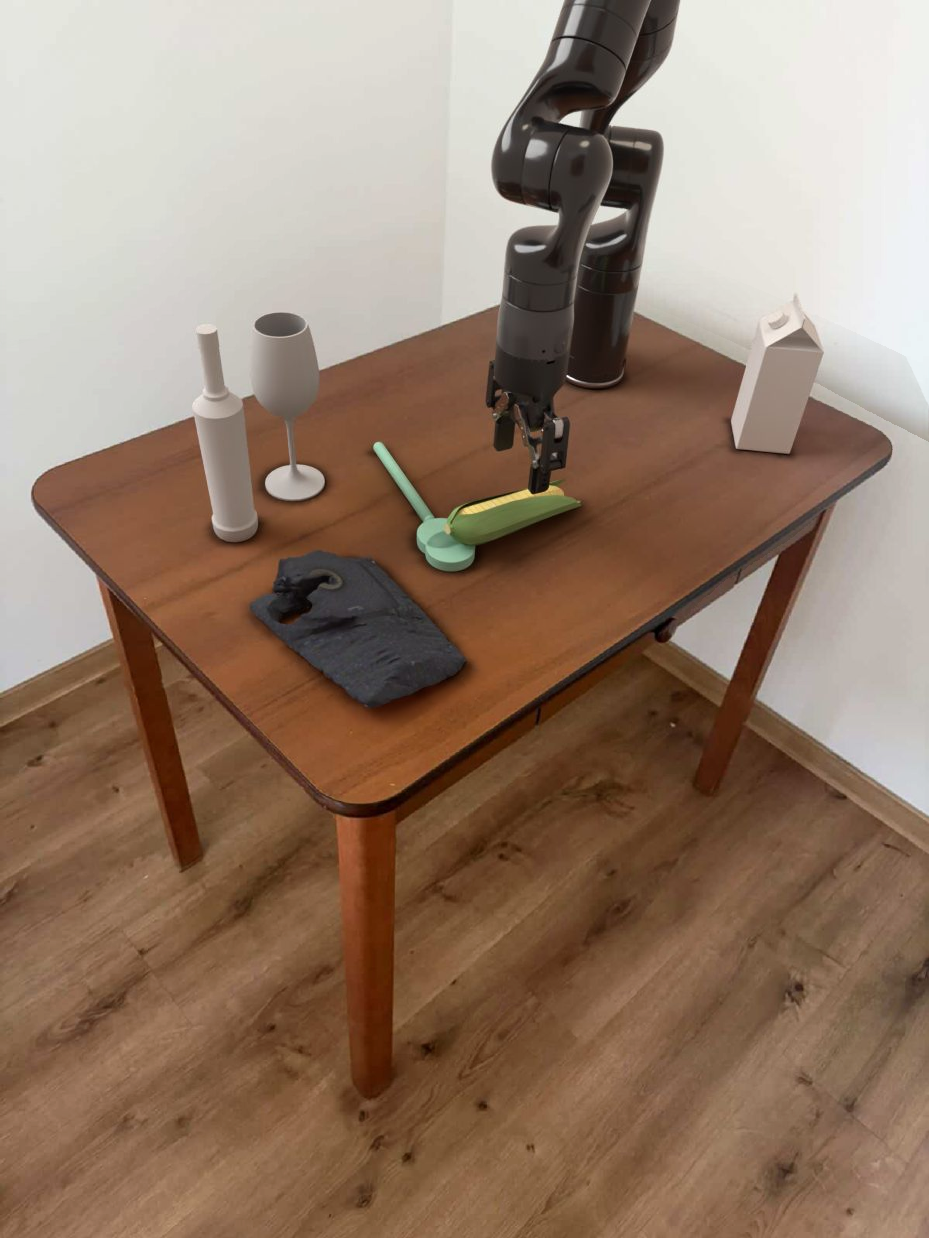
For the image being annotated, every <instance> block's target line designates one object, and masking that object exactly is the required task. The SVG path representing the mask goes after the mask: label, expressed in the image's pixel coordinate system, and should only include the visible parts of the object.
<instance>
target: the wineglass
mask: <svg viewBox="0 0 929 1238" xmlns="http://www.w3.org/2000/svg"><path fill="white" fill-rule="evenodd" d="M249 348H250V350H249V377H250V383H251V387H252V388H251V389H252V391H253V392H252V393H253V395H254V397H255V398H256V400H257V402H258V403H259V405H260V406H261V407H263V408H264V409H265V410H266V411H267V412H268V413H270V414H272V415H274V416H276V417H278V418H279V419H282V420H283V421H284V423H285V427H286V435H287V443H288V453H289V454H288V455H289V464H288V465H283V466H280V467H278V468H275V469H274V470H272V471H271V472H270V473H269V474H268V475H267V476H266V478H265V481H264V482H265V483H264V486H265V489H266V491H267V492H268V494H269V495H270V496H272V497H273V498H276V499H278V500H282V501H287V502H301V501H305V500H306V501H307V500H309V499H311V498H315V496H317V495H319V494H320V493H321V492H322V491H323V489H324V487H325V482H326V481H325V477H324V475H323V473H322V472H321V471H320V470H319V469H317V468H315V467H312V466H310V465H305V464H298V463H297V456H296V445H295V433H294V421H295V420H296V418H299V417H300V416H301V415H303V414H304V413H306V412H307V411H308V410H309V409H310V408H311V407H312V405H313V404H314V403H315V401H316V399H317V397H318V394H319V391H320V368H319V363H318V356H317V352H316V347H315V342H314V339H313V335H312V332H311V328H310V326H309V323H308V320H307V319H306V318H305V317H304V316H302V315H301V314H298V313H295V312H291V311H272V312H267V313H263V314H261V315H259V316H258V317H257V318H255V319H254V320H253V321H252V326H251V333H250V346H249Z"/></svg>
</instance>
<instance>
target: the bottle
mask: <svg viewBox="0 0 929 1238" xmlns="http://www.w3.org/2000/svg"><path fill="white" fill-rule="evenodd" d="M195 335H196V340H197V347H198V350H199V356H200V362H201V363H200V364H201V370H202V377H203V383H204V387H203V389H202V394H200V395H199V396H198V397H197V398H195V400H194V401H193V403H192V405H191V406H192V407H191V408H192V412H193V417H194V422H195V426H196V433H197V438H198V444H199V448H200V454H201V458H202V463H203V467H204V468H203V469H204V473H205V479H206V483H207V489H208V494H209V499H210V504H211V509H212V510H211V511H212V515H211V524H212V528H213V531H214V533H215V535H216V536H217V537H218V538H219V539H220V540H222V541H224V542H227V543H239V542H245V541H247V540H249V539H252V537H253V536H254V535H256V532H257V530H258V527H259V517H258V512H257V510H256V509H255V505H254V503H255V502H254V495H253V487H252V475H251V466H250V456H249V447H248V438H247V428H246V427H247V426H246V418H245V410H244V403H243V399H242V398H241V397H240V396H238V395H237V394H235V393H234V392H231V391H230V390H229V387H228V386H226V385H225V379H224V373H223V365H222V359H221V358H222V357H221V351H220V341H219V333H218V328H217V326H216V325H214V324H211V323H204V324H203V323H202V324H200V325H198V326H197V327H196V328H195Z"/></svg>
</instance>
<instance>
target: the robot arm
mask: <svg viewBox="0 0 929 1238" xmlns="http://www.w3.org/2000/svg"><path fill="white" fill-rule="evenodd" d="M680 6H681V0H564V1H563V3H562V6H561V9H560V12H559V14H558V18H557V21H556V24H555V27H554V30H553V33H552V36H551V40H550V42H549V45H548V49H547V52H546V55H545V58H544V59H543V62H542V64H541V65H540V67H539V69H538V71H537V72H536V74H535V76H534V77H533V79H532V80H531V82H530V84H529V86H528V88H527V89H526V91H525V92H524V94H523V95H522V97H521V99H520V100H519V101H518V103H517V104H516V106H515V107H514V109H513V110H512V112H511V113H510V115H509V116H508V118H507V119H506V122H505V123H504V124H503V127H502V128H501V129H500V132H499V135H498V136H497V138H496V141H495V143H494V146H493V150H492V154H491V159H490V174H491V180H492V183H493V186H494V188H495V191H496V192H497V194H498V195H499V196H500V197H501V198H503V199H505V200H507V201H509V202H511V203H514V204H518V205H522V206H527V207H531V208H535V209H540V210H544V211H548V212H552V213H555V214H558V223H557V224H544V225H543V224H542V225H541V224H540V225H539V224H538V225H529V226H524V227H521V228H518V229H517V230H515V231H514V232H513V233H512V234H511V235H510V236H509V237H508V239H507V242H506V248H505V254H504V266H503V277H502V278H503V279H502V292H501V299H500V304H499V309H498V314H497V323H496V324H497V325H496V336H495V337H496V338H495V351H494V359H492V360H489V362H488V363H489V364H488V373H487V384H486V391H485V406H486V407H487V408H488V409H492V412H491V415H492V419H493V421H494V433H493V444H492V445H493V448H494V449H495V451H496V452H503V451H508V450H510V449H512V448H513V447H514V442H515V441H514V440H515V431H516V425H517V426H518V428H519V431H520V436H521V440H522V444H523V446H524V447H525V448H527V449H528V452H529V458H530V465H529V475H528V482H527V483H528V484H527V488H528V490H529V492H530V493H531V494H533V495H534V494H538V493H542V492H545V491H547V490H548V488H549V484H550V482H551V477H552V476H551V475H552V472H553V471H554V472H555V471H557V470H562V469H565V468H566V466H567V459H568V457H567V456H568V449H569V439H570V428H571V422H570V419H569V417H568V416H562V417H559V416H558V415H557V414H556V413H555V404H554V397H555V395H556V394H557V393H558V392H559V391H560V389H562V388H563V386H564V385H565V384H566V382H568V383H570V384H572V385H574V386H577V387H581V388H586V389H595V390H597V389H607V388H610V387H613V386H616V385H617V384H619V383H620V382H621V381H622V379H623V378H624V372H625V370H624V369H625V365H626V363H627V352H628V347H629V341H630V335H631V329H632V323H633V319H634V313H635V307H636V302H637V297H638V291H639V285H640V280H641V273H642V268H643V263H644V257H645V252H646V251H645V250H646V244H647V238H648V232H649V227H650V221H651V218H652V212H653V208H654V203H655V201H656V195H657V191H658V187H659V183H660V179H661V174H662V169H663V163H664V157H665V144H664V138H663V136H662V134H661V133H660V132H659V131H657V130H654V129H647V128H640V127H639V128H638V127H630V126H620V125H611V122H612V121H613V119H614V117H615V116H616V114H617V113H618V112H619V110H620V109H621V108H622V107H623V106H624V105H625V104H626V103H627V102H628V101H629V100H630V99H631V98H633V96H634V95H636V94H637V93H638V91H640V90H641V89H642V88H643V87H644V86H645V85H646V84H647V83H648V82H649V81H650V80H651V79H652V78H653V77H654V75H656V73H657V72H658V71H659V70H660V69H661V67H662V66H663V64H664V63H665V61H666V60H667V58H668V56H669V55H670V52H671V49H672V47H673V42H674V39H675V33H676V27H677V21H678V16H679V9H680ZM574 113H580V118H579V123H578V124H579V125H578V126H575V125H570V124H567V123H562V122H561V121H562V120H563V119H564V118H565V117H567V116H568V115H571V114H574ZM600 207H603V208H613V209H622V210H624V212H623V213H621V214H619V215H617V216H615V217H613V218H610V219H607V220H603V221H600V222H599V221H598V222H596V223H593V222H594V220H595V218H596V217H595V216H596V214H597V212H598V211H599V208H600ZM500 390H501V393H500V394H496V392H497V391H500ZM538 431H540V434H541V436H540V435H539V436H536V437H533V436H532V434H531V433H533V432H538ZM539 445H541V448H540V452H539V448H538V446H539Z"/></svg>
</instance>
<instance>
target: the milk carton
mask: <svg viewBox="0 0 929 1238" xmlns="http://www.w3.org/2000/svg"><path fill="white" fill-rule="evenodd" d="M800 301H801V300H800V298H799V295H798V292H794V295H793V299H792V300H791V301H789V302H788V303H786V304H784V305H782V306H780V307H779V308H777V309H776V310H774V311H772V312H771V313H768V314H766V315H765V316H763V317H761V318H760V319H759V320H758V322H757V326H756V330H755V333H754V336H753V341H752V344H751V347H750V351H749V353H748V359H747V362H746V366H745V368H744V372H743V377H742V379H741V383H740V387H739V391H738V394H737V398H736V401H735V405H734V408H733V412H732V416H731V419H730V423H731V429H732V434H733V440H734V445H735V449H737V450H744V451H745V450H746V451H747V450H748V451H755V452H765V453H776V454H785V455H786V454H787V455H789V454H791V451H792V448H793V445H794V442H795V439H796V436H797V433H798V430H799V428H800V424H801V421H802V418H803V416H804V413H805V410H806V406H807V403H808V400H809V397H810V395H811V392H812V389H813V386H814V383H815V380H816V376H817V373H818V372H819V368H820V365H821V362H822V359H823V356H824V353H825V352H824V347H823V346H822V343H821V339H820V336H819V334H818V331H817V327H816V326H815V323H814V322H813V321H812V320H811V319H810V318H809V316H808V315H807V314H806V313H805V312H804V310H803V307H802V305H801V302H800Z"/></svg>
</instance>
